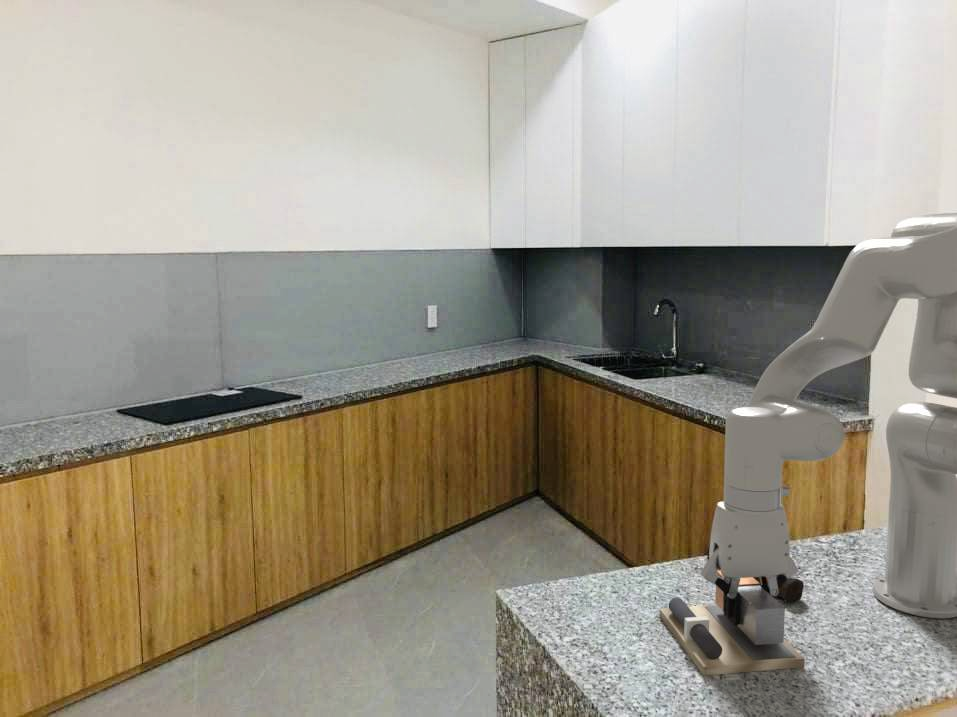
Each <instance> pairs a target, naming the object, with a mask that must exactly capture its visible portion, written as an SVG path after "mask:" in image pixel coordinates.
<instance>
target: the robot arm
mask: <svg viewBox="0 0 957 717" xmlns="http://www.w3.org/2000/svg"><path fill="white" fill-rule="evenodd" d="M901 299H911V300H912V299H913V300H917V303H918V304H917V313H916V320H915V324H914V325H915V326H914V331H913V332H914V333H913V338H912V344H911V349H910V350H911V351H910V354H909V355H910V357H909V363H908V378H909V380H910V382H911V384H912V385H913V386H914V387H915V388H916V389H918V390H920V391H922V392H924V393H928V394H932V395H937V396H941V397H947V398H951V399H956V400H957V212H948V213H947V212H946V213H945V212H943V213H931V214H924V215H923V214H922V215H918V216H913V217H909V218H907V219H904V220H902V221H900V222H899V223H898V224H897V225H896V226H895V227H894V229H892V232H891V235H890V237H878V238H871V239H866V240H864V241H862V242H860V243H858V244H857V245H856V246H855V247H853V249H851V251H850V252H849V254H848V256H847V257H846V260H845V261H844V263H843V266H842V267H841V269H840V272H839V274H838V276H837V278H836V280H835V282H834V284H833V286H832V288H831V290H830V292H829V294H828V296H827V299H826V300H825V301H824V302H825V303H824V304H823V306H822V308H821V310H820V312H819V314H818V317H817V318H816V320H815V322H814V324H813V326H812V327H811V328H810V330H809V331H807V332H806V333H805V334H804V335H802V336H801V337H799V338H798V339H797V340H796V341H794V342H793V343H792V344H790V345H789V346H788V347H787V348H786V349H785V350H784V351H782V352H781V353H780V354H779V355H778V356H777V357H776V358H775V359H774V360H773V361H772V362H771V363H770V364H769V365H768V366H767V368H765V370H764V372H763V373H762V375H761V376H760V378H759V380H758V382H757V384H756V386H755V388H754V390H753V392H752V394H751V397H750V399H749V400H748V404H747V406H741V407H735V408H733V409H731V410H730V411H729V412H728V413H727V415H726V417H725V430H724V432H725V436H724V438H725V440H724V442H725V443H724V471H723V472H724V473H723V475H724V477H723V480H724V481H723V501H719V502H717V505H716V508H715V512H714V516H713V520H712V524H711V525H712V526H711V530H710V531H711V532H710V540H709V544H710V550H709V560H708V559H707V562H706V563H705V564H704V566H703V568H702V569H701V571H700V575H701V576H702V577H703V578H704V579H705V581H708V582H710V583H711V584H713V585H715V587H716V586H718V587H719V588H720V589H721V590H722V591H723V592H724V595H723V612H724V615H725V616H726V617H727V618H728V619H729V620H730V621H731V622H732V624H733V625H739V624H740V599H739V598H738V597H737V592H738V587H739V583H740V579H741V578H750V577H760V582H761V587H762V588H763V589H764V590H765V591H767V592H768V593H769V594H770V595H771V596H772V597H773V598H774V599H775V596H777V594H778V589H779V588H780V587H781V586H782V585H783V584H784V583H785V582H786V581H787V579H789V578H793V576H794V575H796V574H797V573H798V572H799V568H798V566H797V565H796V563H795V561H794V560H793V559H792V557H791V556H790V553H791V552H790V551H791V550H790V549H791V548H790V545H791V544H790V531H789V524H788V523H789V522H788V518H787V512H786V509H785V506H784V505H783V504H782V503H783V498H784V497H788V496H789V495H790V494H791V493H790V488H789V487H788V486H787V485H784V486H783V484H782V482H783V463H784V462H785V461H797V462H798V461H800V462H801V461H802V462H819V461H823V460H826V459H829V458H831V457H833V456H834V455H835V454H836V453H838V452H839V451H840V449H841V448H842V447H843V444H844V442H845V438H846V437H845V436H846V435H845V434H846V433H845V428H844V427H845V426H843V423H842V421H841V420H840V419H839V418H838V416H836V415H835V414H834V413H833V412H831V411H829V410H827V409H824V408H821V407H818V406H815V405H814V406H813V405H810V404H805V403H803V402H798V401H796V400H797V398H798V396H799V395H800V393H801V391H803V389H804V388H805V387H806V386H807V385H808V384H809V383H810V382H812V380H814V379H815V378H817V377H818V376H819V375H822V374H824V373H825V372H828V371H831V370H832V369H835V368H839V367H841V366H845V365H848V364H851V363H854V362H856V361H860V360H861V359H864V358H867V357H868V356H871V354H873V353H874V351H875V350H876V348H877V346H878V344H879V341H880V339H881V337H882V335H883V333H884V331H885V329H886V327H887V325H888V323H889V321H890V318H891V316H892V315H893V313H894V310H895V308H896V307H897V304H898V303H899V301H900V300H901ZM885 439H886V446H887V451H888V457H889V466H890V468H889V470H890V485H889V486H890V489H889V501H888V502H889V504H888V517H887V518H888V519H887V520H888V521H887V532H886V533H887V534H886V536H887V537H886V547H885V548H886V551H885V564H884V565H885V567H884V568H885V570H884V577H880V578H878V579H877V580H875V581H874V582H873V586H872V593H873V595H874V596H875V598H877V599H878V600H879V601H880V602H882V604H884V605H886V606H888V607H890V608H892V609H895V610H898V611H899V612H902V613H905V614H908V615H909V614H910V615H912V616H913V615H914V616H917V617H923V618H931V619H953V618H956V617H957V407H954V406H950V405H945V404H944V405H943V404H940V403H934V402H926V401H913V402H907V403H905V404H902V405H901V406H899V407H897V408H896V409H894V410H893V412H892V413H891V415H890V416H889V417H888V420H887V423H886V427H885ZM719 567H721V574H722V578H721V577H720V576H718V575H716V571H717V570H719Z"/></svg>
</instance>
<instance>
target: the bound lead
mask: <svg viewBox="0 0 957 717" xmlns="http://www.w3.org/2000/svg"><path fill="white" fill-rule="evenodd" d="M668 608H669V609H670V611H671V612H672V613H673V614H674V616H675V617H676V618H677V619H678V621H679V622H680V623H681V625H682V626H683V627H684V638H685V639H686V640H687V641H691V640H694V641H695V642H696V644H697V645H698V646H699V648H700V649H701V650H702V651H703V653H704V654H705V655H706V657H707V658H709V659H712V660H714V659H717V658H719V657H720V656H721V654H722V647H721V645H720V644H719V643H718V642H717V640H716V639H715V638H714V637H713V636H712V635H711V633H710V632H709V619H708V618H707V616H703V617H696V616H695V614H694V613H693V612H692V611H691V610H690V608H689V606H688V605H687V603H686V602H685V601H684V600H683V599H682V598H681V597H679V596H678V597H673V598H671V599H670V600H669V602H668Z"/></svg>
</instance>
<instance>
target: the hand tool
mask: <svg viewBox="0 0 957 717" xmlns="http://www.w3.org/2000/svg"><path fill="white" fill-rule="evenodd" d="M709 550H710V543H708V546H707V548H706V559H707V561H708V560H709ZM707 556H708V557H707ZM718 570H721V567H719V568H718ZM753 578H754V579H755V580H756V581H758V582H759V583H760V586H761V582H760V577H753ZM804 584H805V583H804V582H803V580H801V579H798V578H793V577H790V578H789V579H787V581H786V582H785V583H784V584H783V585H782V586H781V587H780V588H779V589H778V594H777V595H776V596H777V597H780V598H782V599H783V600H784V602H785V603H786V605H791V604H795V603H798V602H799V601H800V600H801V599H802V596H803V591H804V589H805V588H804V587H805V586H804Z"/></svg>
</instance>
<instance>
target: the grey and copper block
mask: <svg viewBox="0 0 957 717" xmlns="http://www.w3.org/2000/svg"><path fill="white" fill-rule="evenodd" d="M716 575H718V576H720V577H721V578H722V574H721V570H720V569H718V570H717V571H716ZM723 595H724V592H723V591H722V590H721V589H720V588H719V587H718V586H716V585H715V605H718V606H719V607H720V608H721V609H722V611H723ZM737 597H738V598H739V599H740V624H739V625H737V626H738V627H739V628H740V629H741V630H742V631H743V632H744V633H745V634H746V635H747V637H748V638H749V639H750V640H751V641H752V642H753V643H754V644H755V645H761V644H773V643H783V642H784V639H785V637H784V636H785V614H786V612H785V611H786V608H785V607H784V606H783V604H781V603H780V602H779V601H778V600H777V599H776V598H775V597H774V598H773V597H772V596H771V595H770V594H769V593H768V592H767V591H765V590H764V589H763V588H762V587H761V586H760V583H759V582H758V581H756V580H755V579H754V578H753V577H750V578H741V579H740V583H739V587H738V592H737Z"/></svg>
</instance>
